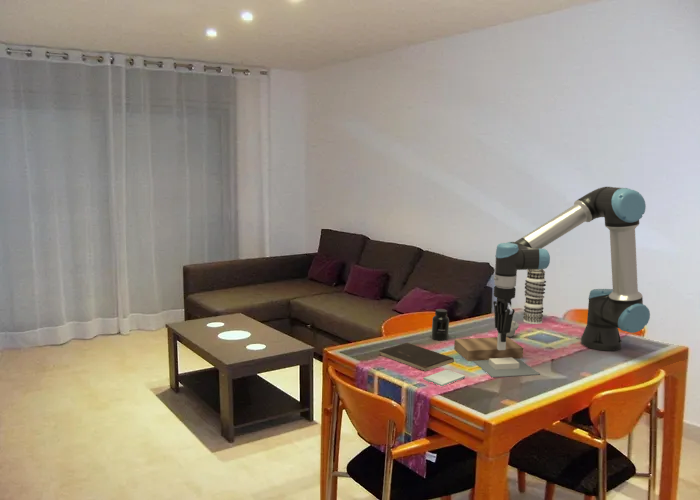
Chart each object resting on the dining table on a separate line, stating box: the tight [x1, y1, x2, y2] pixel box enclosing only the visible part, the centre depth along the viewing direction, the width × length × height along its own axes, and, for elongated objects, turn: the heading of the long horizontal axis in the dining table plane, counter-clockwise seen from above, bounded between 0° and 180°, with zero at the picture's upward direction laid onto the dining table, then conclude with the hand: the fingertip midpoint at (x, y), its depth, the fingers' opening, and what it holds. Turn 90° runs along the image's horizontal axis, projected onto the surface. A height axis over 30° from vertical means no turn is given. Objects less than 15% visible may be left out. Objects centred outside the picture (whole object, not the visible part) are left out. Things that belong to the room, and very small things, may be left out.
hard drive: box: [422, 369, 466, 387], centre depth 207 cm, size 2×8×12 cm
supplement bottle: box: [431, 308, 450, 341], centre depth 251 cm, size 7×7×12 cm
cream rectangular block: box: [489, 357, 519, 370], centre depth 220 cm, size 9×6×2 cm, turn 100°
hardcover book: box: [379, 342, 455, 372], centre depth 228 cm, size 16×23×2 cm
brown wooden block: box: [453, 336, 524, 362], centre depth 234 cm, size 22×14×4 cm, turn 101°
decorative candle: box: [522, 269, 547, 325], centre depth 277 cm, size 9×9×25 cm
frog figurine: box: [506, 320, 520, 338], centre depth 255 cm, size 6×7×7 cm
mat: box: [473, 358, 541, 378], centre depth 219 cm, size 18×16×1 cm
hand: (501, 349), depth 222 cm, fingers closed
